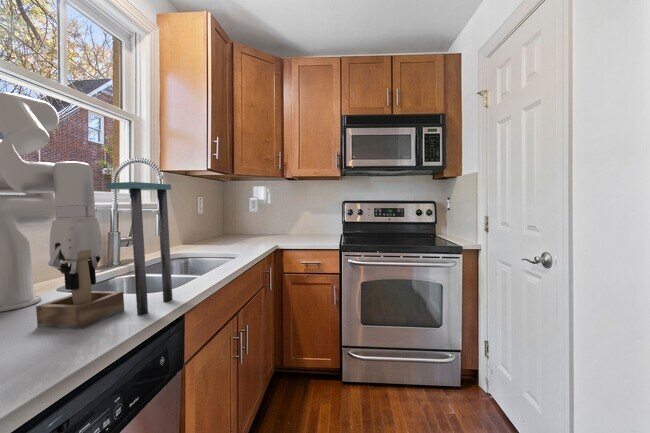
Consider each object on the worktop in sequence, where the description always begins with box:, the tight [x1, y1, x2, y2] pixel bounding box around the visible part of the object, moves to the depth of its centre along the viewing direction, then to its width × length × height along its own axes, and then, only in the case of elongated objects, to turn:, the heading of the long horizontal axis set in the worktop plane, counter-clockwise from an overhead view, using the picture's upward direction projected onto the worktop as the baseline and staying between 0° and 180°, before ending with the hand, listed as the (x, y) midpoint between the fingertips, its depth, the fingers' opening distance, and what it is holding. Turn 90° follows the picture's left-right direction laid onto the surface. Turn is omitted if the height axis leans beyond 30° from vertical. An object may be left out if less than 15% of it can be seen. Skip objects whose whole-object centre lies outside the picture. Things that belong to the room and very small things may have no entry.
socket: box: [35, 290, 125, 330], centre depth 76 cm, size 12×12×5 cm
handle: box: [71, 250, 93, 305], centre depth 76 cm, size 5×6×15 cm
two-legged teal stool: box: [106, 181, 173, 316], centre depth 83 cm, size 8×14×34 cm, turn 172°
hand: (81, 285), depth 76 cm, fingers closed on handle, 3 cm apart
